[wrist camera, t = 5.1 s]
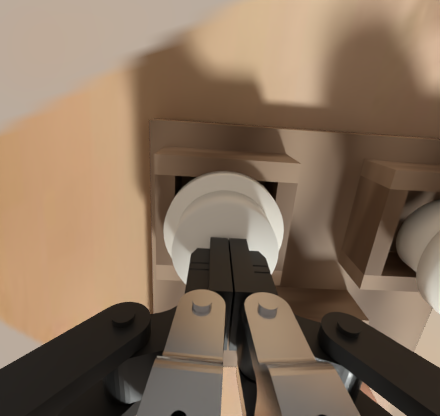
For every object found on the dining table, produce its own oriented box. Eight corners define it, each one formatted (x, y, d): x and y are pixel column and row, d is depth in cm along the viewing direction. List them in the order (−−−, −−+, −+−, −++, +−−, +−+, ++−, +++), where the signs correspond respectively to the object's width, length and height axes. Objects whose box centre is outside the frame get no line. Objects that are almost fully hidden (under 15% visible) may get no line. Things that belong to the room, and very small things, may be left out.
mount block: (479, 141, 17) (563, 152, 13) (393, 357, 24) (431, 410, 20) (154, 118, 17) (134, 122, 12) (158, 349, 23) (145, 402, 19)
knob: (275, 163, 16) (306, 192, 11) (263, 252, 18) (283, 313, 13) (174, 157, 16) (153, 183, 10) (173, 247, 18) (155, 308, 12)
